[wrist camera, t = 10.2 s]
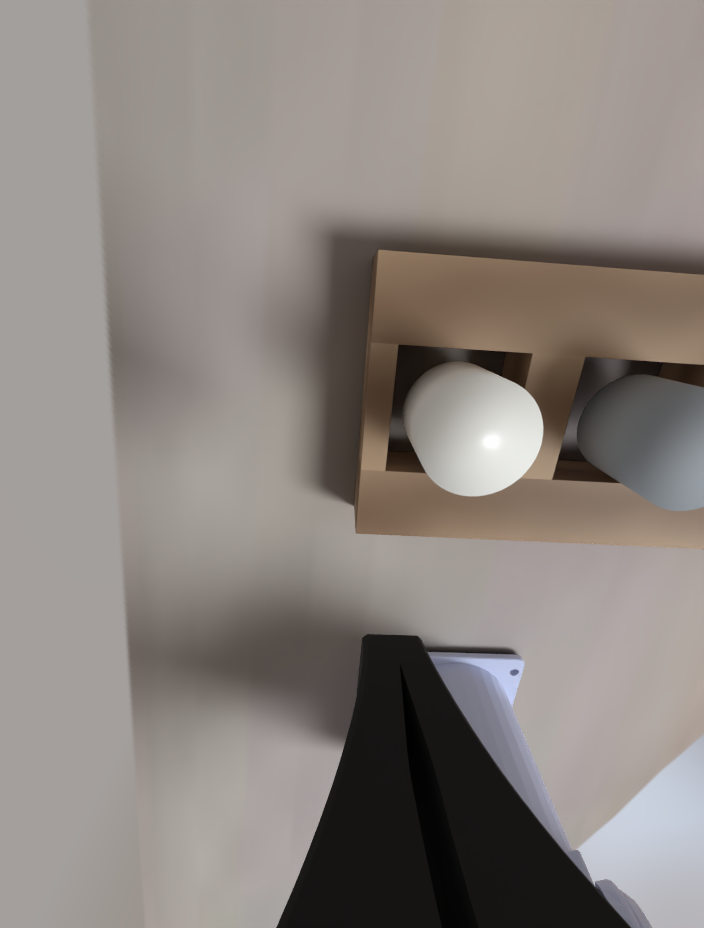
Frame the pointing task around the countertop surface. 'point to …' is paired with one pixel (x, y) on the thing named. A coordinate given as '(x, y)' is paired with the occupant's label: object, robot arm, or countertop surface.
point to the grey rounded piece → (648, 438)
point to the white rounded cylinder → (472, 428)
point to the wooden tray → (540, 373)
